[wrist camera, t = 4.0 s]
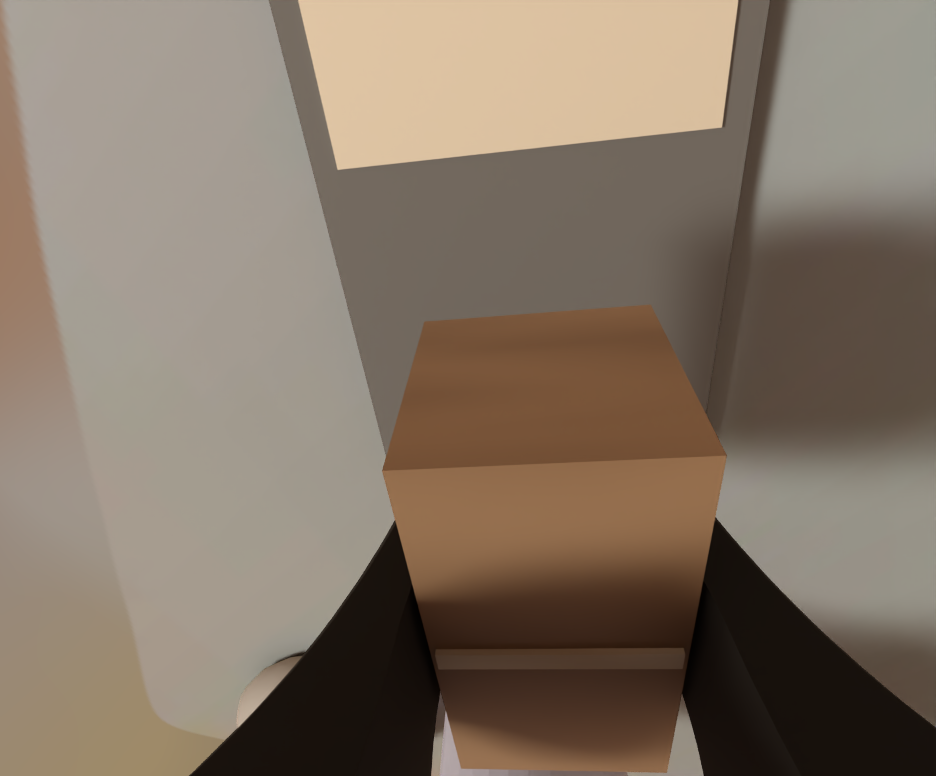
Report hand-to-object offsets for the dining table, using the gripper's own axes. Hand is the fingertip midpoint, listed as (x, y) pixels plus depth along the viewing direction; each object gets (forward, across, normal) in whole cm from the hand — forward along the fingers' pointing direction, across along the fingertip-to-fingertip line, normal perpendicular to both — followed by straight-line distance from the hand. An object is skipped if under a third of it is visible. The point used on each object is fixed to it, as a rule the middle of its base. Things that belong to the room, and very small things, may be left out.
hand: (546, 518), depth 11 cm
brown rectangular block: (+1, 0, 0) cm, 1 cm away
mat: (+8, 0, -4) cm, 9 cm away
